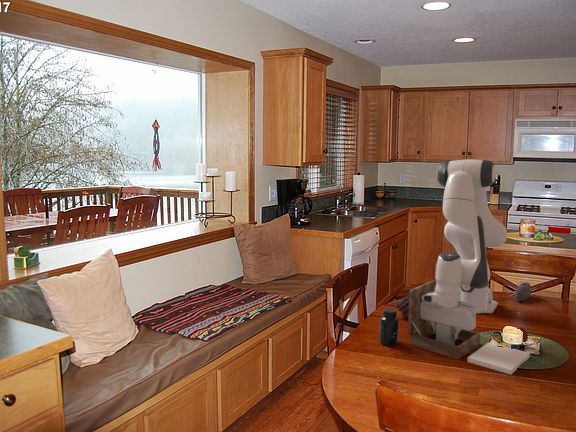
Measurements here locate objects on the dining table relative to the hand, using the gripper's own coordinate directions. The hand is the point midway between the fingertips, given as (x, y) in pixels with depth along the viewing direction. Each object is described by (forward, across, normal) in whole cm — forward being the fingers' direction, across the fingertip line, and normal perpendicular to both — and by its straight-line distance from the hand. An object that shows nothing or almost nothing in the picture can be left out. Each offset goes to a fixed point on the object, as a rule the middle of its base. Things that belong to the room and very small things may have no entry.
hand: (445, 336), depth 185 cm
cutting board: (+3, -19, 0) cm, 19 cm away
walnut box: (+3, 0, 0) cm, 3 cm away
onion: (+3, -20, -16) cm, 26 cm away
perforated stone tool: (+4, -2, -75) cm, 75 cm away
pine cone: (+3, +22, -17) cm, 28 cm away
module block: (+3, 0, 0) cm, 3 cm away
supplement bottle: (+3, +16, +12) cm, 20 cm away
